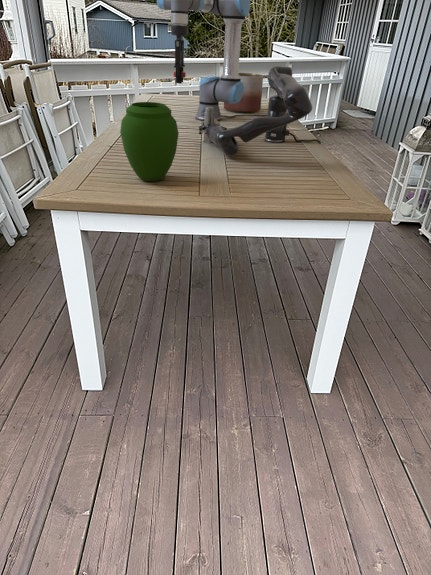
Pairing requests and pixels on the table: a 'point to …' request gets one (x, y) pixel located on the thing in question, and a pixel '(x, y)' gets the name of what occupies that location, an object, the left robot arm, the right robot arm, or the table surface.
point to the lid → (182, 74)
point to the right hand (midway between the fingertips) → (207, 126)
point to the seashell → (214, 122)
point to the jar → (208, 121)
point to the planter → (248, 94)
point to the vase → (149, 139)
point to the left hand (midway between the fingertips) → (179, 82)
